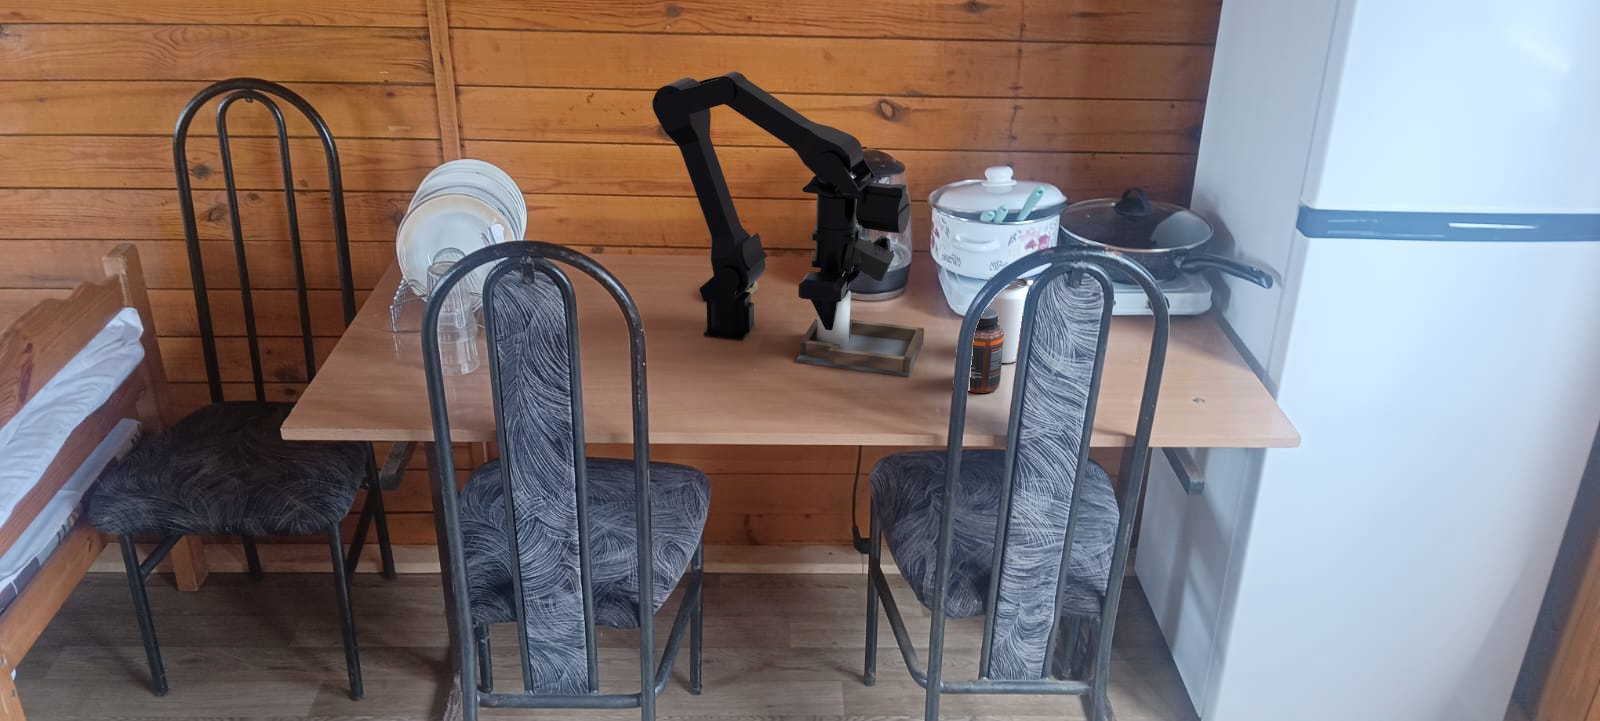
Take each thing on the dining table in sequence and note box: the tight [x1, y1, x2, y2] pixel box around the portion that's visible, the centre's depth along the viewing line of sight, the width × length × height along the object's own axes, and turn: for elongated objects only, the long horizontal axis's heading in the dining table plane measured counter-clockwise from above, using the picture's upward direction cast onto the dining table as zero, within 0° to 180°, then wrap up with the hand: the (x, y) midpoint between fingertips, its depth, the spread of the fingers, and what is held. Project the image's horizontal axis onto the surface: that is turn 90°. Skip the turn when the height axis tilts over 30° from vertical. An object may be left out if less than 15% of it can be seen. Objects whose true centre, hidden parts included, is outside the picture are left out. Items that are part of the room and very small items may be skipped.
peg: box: [817, 290, 852, 348], centre depth 172 cm, size 5×5×8 cm
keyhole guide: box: [796, 318, 925, 377], centre depth 173 cm, size 17×12×3 cm
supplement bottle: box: [969, 308, 1004, 394], centre depth 161 cm, size 6×6×11 cm
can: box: [987, 275, 1029, 365], centre depth 170 cm, size 6×6×12 cm
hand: (833, 323), depth 173 cm, fingers closed on peg, 5 cm apart
